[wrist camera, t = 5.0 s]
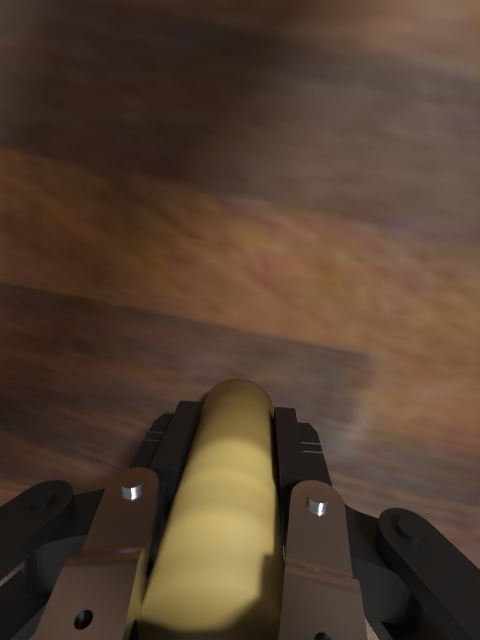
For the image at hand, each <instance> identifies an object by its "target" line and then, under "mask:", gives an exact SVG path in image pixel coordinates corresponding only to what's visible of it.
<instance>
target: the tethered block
mask: <svg viewBox="0 0 480 640" xmlns="http://www.w3.org/2000/svg"><path fill="white" fill-rule="evenodd" d="M273 418H274V415H273V405H272V402H271V399H270V397H269V396H268V394H267V393H266V392H265V390H263V389H262V388H261V387H260V386H258V385H257V384H255V383H253V382H250V381H247V380H242V379H233V380H227V381H224V382H222V383H220V384H218V385H217V386H215V387H214V388H213V389H212V390H211V391H210V392H209V394H208V395H207V397H206V400H205V402H204V406H203V409H202V412H201V415H200V418H199V422H198V425H197V428H196V431H195V434H194V437H193V440H192V444H191V447H190V450H189V453H188V456H187V459H186V463H185V466H184V469H183V472H182V475H181V478H180V482H179V485H178V488H177V491H176V494H175V497H174V500H173V504H172V507H171V510H170V513H169V516H168V519H167V523H166V526H165V529H164V532H163V535H162V538H161V542H160V545H159V548H158V551H157V554H156V557H155V561H154V564H153V567H152V570H151V573H150V576H149V580H148V583H147V586H146V591H145V594H144V599H143V603H142V619H143V634H144V640H278V634H279V624H280V614H281V602H282V590H283V579H284V558H283V544H282V529H281V515H280V505H279V495H278V480H277V466H276V451H275V436H274V421H273Z"/></svg>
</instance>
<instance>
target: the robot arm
mask: <svg viewBox="0 0 480 640" xmlns="http://www.w3.org/2000/svg"><path fill="white" fill-rule="evenodd" d="M200 415H201V404H200V402H192V401H180V402H179V404H178V406H177V408H176V411H175V413H174V414H167V413H164V414H163V415H162V416H161V417H159V418H158V419H157V420H155V421H154V423H153V425H152V427H151V429H150V431H149V433H148V434H147V436H146V438H145V441H144V442H143V443H142V445H141V447H140V449H139V451H138V453H137V455H136V456H135V458H134V460H133V462H132V464H131V466H130V468H129V469H126V470H124V471H121V472H119V473H118V474H116V475H115V476H114V477H113V478H112V479H111V480H110V481H109V482H108V484H107V486H106V488H105V489H102V490H98V491H94V492H88V493H83V494H77V495H73V489H72V487H71V485H69V484H68V483H66V482H64V481H58V480H54V481H47V482H43V483H40V484H37V485H35V486H33V487H31V488H29V489H27V490H26V491H24V492H23V493H21V494H20V495H18V496H17V497H15V498H14V499H12V500H11V501H9V502H7V503H6V504H4V505H3V506H1V507H0V581H1V580H2V579H3V578H4V577H5V576H7V575H8V574H9V573H10V572H11V571H13V570H14V569H15V568H16V567H17V566H19V565H20V566H21V570H20V571H18V572H17V573H16V574H15V575H14V576H13V577H11V578H10V579H9V580H8V581H7V582H5V583H4V584H3V585H2V586H1V587H0V640H29V639H30V638H31V637H32V636H33V635H34V636H33V639H32V640H144V634H143V619H142V603H143V599H144V594H145V591H146V586H147V583H148V580H149V576H150V573H151V570H152V567H153V564H154V561H155V557H156V554H157V551H158V548H159V545H160V542H161V538H162V535H163V532H164V529H165V526H166V523H167V519H168V516H169V513H170V510H171V507H172V504H173V500H174V497H175V494H176V491H177V488H178V485H179V482H180V478H181V475H182V472H183V469H184V466H185V463H186V459H187V456H188V453H189V450H190V447H191V444H192V440H193V437H194V434H195V431H196V428H197V425H198V422H199V418H200ZM273 421H274V436H275V451H276V466H277V480H278V495H279V505H280V515H281V529H282V544H283V546H284V557H285V559H284V579H283V590H282V602H281V614H280V624H279V634H278V640H368V639H367V632H366V624H365V617H366V619H367V621H368V623H369V624H370V626H371V627H372V629H373V631H374V632H375V634H376V635H377V637H378V638H379V640H480V570H479V569H478V568H477V567H476V566H475V565H474V564H473V563H472V562H471V561H470V560H469V559H468V558H467V557H466V556H465V555H463V554H462V553H461V552H460V551H459V550H458V549H457V548H456V547H455V546H454V545H453V544H452V543H451V542H450V541H449V540H447V539H446V538H445V537H444V536H443V535H442V534H441V533H440V532H439V531H438V530H437V529H436V528H435V527H434V526H433V525H431V524H430V523H429V522H428V521H427V520H426V519H424V518H423V517H421V516H420V515H418V514H416V513H414V512H412V511H409V510H406V509H401V508H390V509H387V510H385V511H383V512H382V513H381V515H380V517H379V519H378V518H375V517H372V516H369V515H366V514H363V513H361V512H358V511H356V510H354V509H352V508H350V507H349V506H347V505H346V504H345V503H344V501H343V499H342V497H341V495H340V494H339V493H338V492H337V491H336V490H335V489H334V488H333V487H332V484H331V481H330V477H329V473H328V470H327V466H326V462H325V459H324V455H323V453H322V448H321V445H320V441H319V437H318V433H317V432H316V431H315V429H314V428H313V427H312V426H311V425H310V424H309V423H299V422H297V418H296V413H295V409H294V408H282V407H275V408H274V418H273ZM364 614H365V617H364Z"/></svg>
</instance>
